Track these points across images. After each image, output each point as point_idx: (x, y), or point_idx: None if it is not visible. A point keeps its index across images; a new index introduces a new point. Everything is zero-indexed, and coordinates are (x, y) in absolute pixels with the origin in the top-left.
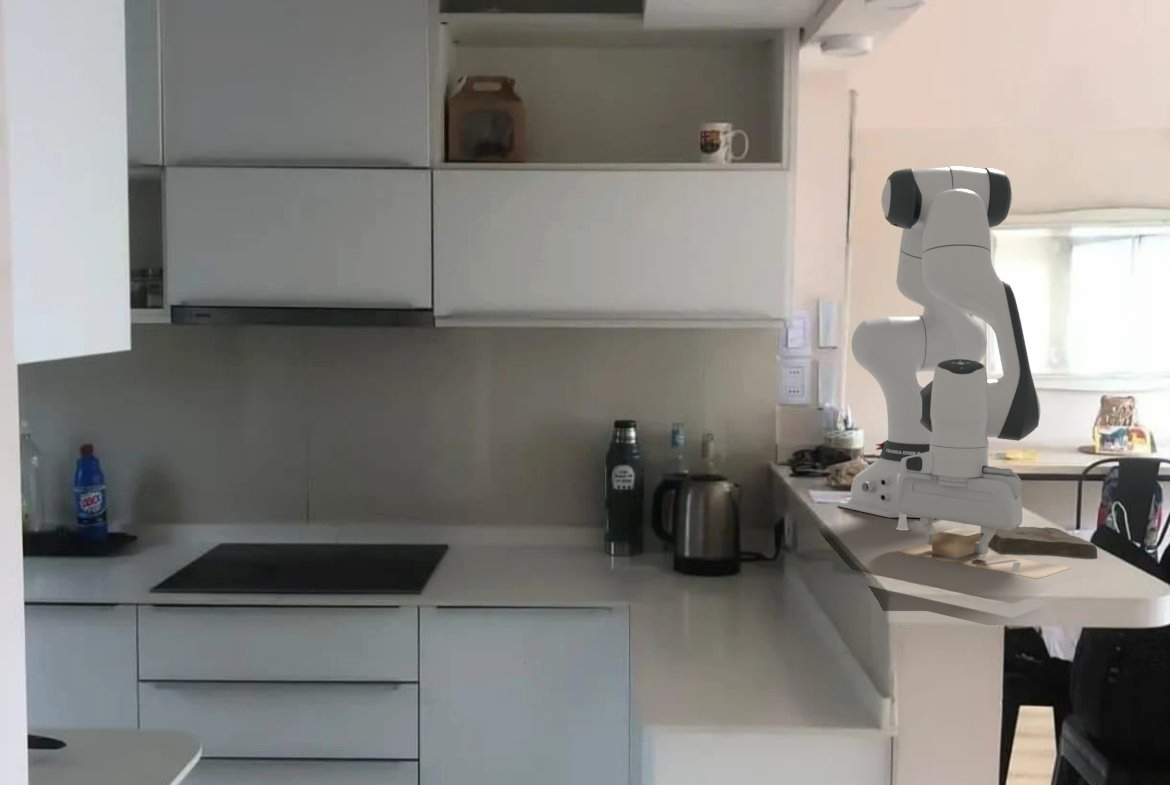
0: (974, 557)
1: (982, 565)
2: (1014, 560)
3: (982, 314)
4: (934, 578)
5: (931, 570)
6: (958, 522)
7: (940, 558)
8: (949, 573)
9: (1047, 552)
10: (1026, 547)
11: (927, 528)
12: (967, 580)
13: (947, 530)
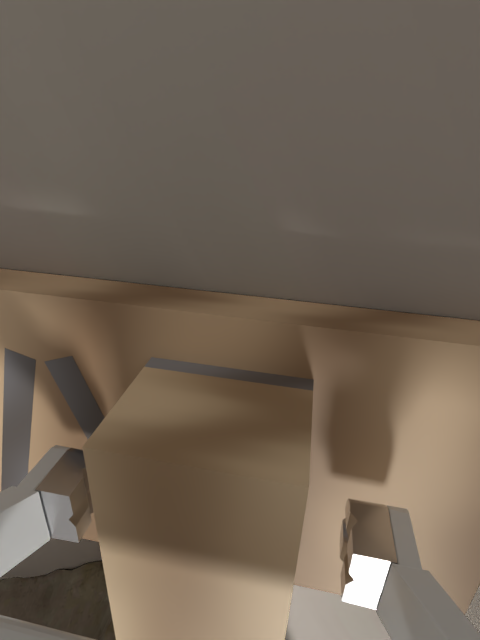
0: None
1: (13, 337)
2: None
3: None
4: (145, 64)
5: (263, 248)
6: (90, 638)
7: (244, 352)
8: (160, 251)
9: (26, 620)
10: (68, 629)
11: (425, 616)
12: (16, 171)
13: (286, 625)
